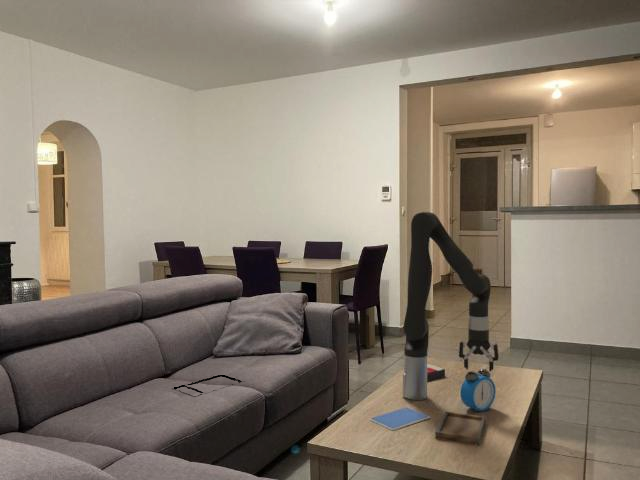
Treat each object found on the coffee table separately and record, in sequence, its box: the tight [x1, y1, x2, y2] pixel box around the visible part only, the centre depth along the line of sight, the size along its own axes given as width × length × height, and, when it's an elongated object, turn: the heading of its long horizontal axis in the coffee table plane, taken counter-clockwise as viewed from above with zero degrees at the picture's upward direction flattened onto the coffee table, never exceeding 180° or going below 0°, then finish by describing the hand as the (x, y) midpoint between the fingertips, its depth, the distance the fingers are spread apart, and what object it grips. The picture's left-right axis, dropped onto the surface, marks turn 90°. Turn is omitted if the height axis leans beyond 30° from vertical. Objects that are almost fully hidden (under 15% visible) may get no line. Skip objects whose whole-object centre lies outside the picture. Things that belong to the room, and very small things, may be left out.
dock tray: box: [434, 410, 486, 446], centre depth 183 cm, size 14×20×2 cm
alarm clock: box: [460, 368, 497, 413], centre depth 203 cm, size 13×6×15 cm, turn 121°
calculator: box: [427, 363, 446, 382], centre depth 245 cm, size 11×4×15 cm
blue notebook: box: [369, 407, 431, 432], centre depth 193 cm, size 19×13×1 cm, turn 126°
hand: (478, 369), depth 203 cm, fingers open, 8 cm apart
